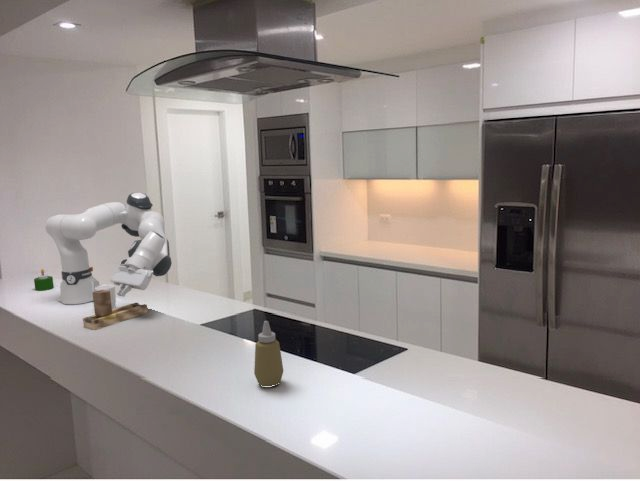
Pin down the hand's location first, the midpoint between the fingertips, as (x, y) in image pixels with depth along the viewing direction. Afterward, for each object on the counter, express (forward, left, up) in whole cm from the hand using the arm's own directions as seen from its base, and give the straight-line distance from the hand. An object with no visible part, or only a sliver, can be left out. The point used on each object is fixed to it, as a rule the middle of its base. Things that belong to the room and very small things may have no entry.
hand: (120, 295), depth 215 cm
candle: (-55, -58, -10) cm, 80 cm away
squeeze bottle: (+67, +64, -10) cm, 93 cm away
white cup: (-13, -11, -10) cm, 19 cm away
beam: (+2, -2, -9) cm, 10 cm away
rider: (+6, -5, -7) cm, 10 cm away
